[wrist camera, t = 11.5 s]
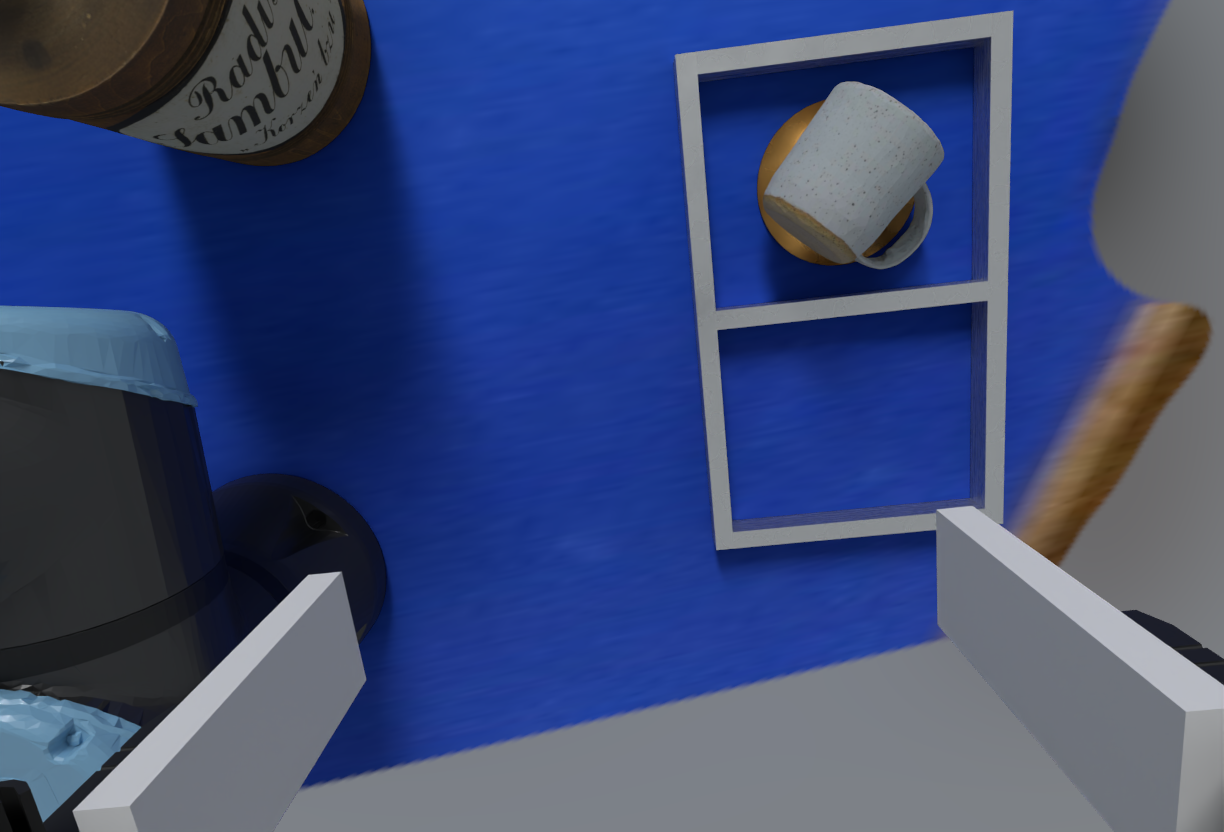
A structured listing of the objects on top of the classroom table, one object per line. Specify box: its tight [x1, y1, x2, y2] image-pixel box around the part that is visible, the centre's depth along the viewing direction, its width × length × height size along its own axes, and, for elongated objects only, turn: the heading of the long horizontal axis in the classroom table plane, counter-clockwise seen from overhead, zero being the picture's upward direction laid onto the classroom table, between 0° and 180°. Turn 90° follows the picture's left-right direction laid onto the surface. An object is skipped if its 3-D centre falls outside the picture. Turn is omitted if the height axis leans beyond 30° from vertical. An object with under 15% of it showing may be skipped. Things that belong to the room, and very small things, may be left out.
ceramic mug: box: [763, 81, 944, 269], centre depth 39 cm, size 10×8×7 cm
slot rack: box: [673, 11, 1013, 550], centre depth 43 cm, size 19×31×2 cm, turn 6°
